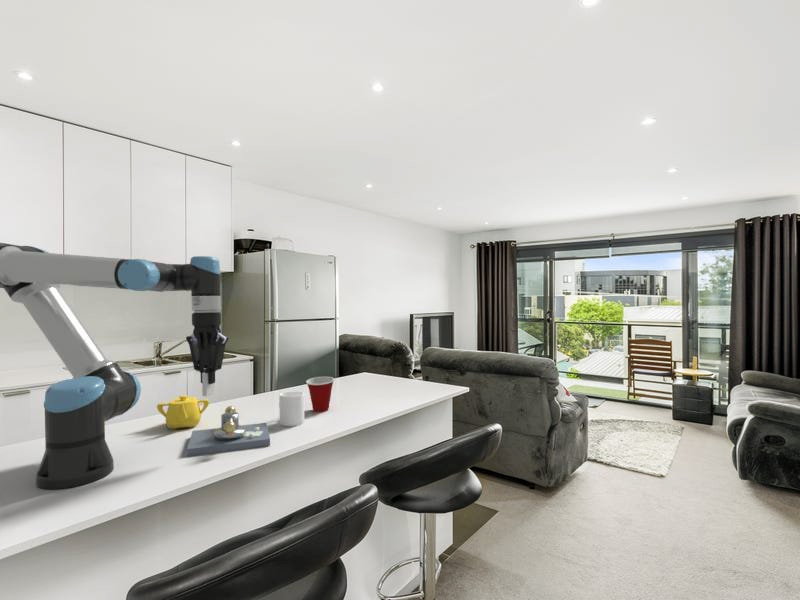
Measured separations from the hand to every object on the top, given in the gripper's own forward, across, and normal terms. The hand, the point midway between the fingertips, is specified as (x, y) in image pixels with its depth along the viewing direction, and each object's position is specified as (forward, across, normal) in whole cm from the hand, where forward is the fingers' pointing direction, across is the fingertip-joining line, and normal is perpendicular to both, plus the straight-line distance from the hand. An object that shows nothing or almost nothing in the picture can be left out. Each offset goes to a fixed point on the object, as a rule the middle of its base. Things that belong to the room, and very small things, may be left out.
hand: (208, 395), depth 120 cm
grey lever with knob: (+14, 0, +9) cm, 17 cm away
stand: (+16, 0, +9) cm, 18 cm away
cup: (+17, +5, +32) cm, 36 cm away
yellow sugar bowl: (+16, -27, +17) cm, 36 cm away
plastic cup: (+17, +8, +49) cm, 52 cm away
